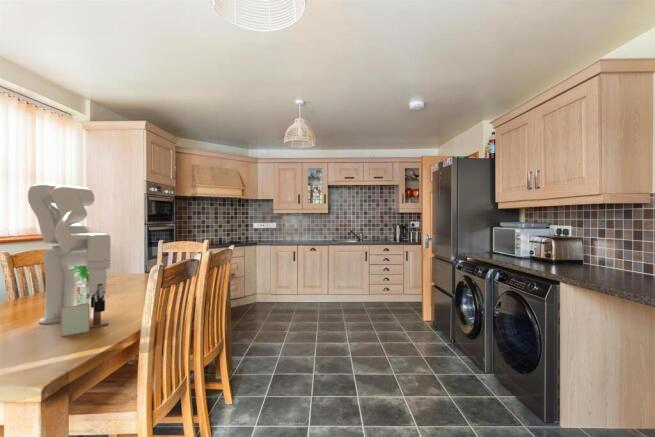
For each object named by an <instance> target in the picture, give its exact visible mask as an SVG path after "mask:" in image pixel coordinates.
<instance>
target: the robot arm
mask: <svg viewBox="0 0 655 437" xmlns="http://www.w3.org/2000/svg"><path fill="white" fill-rule="evenodd" d="M27 199H28V204H29V206H30V208H31V210H32V211H33V213H34V216H36V219H37V223H38V226H39V229H40V234H41V237H42V240H43V242H44V243H45V244H47V245H50V247H48V248H46V249H45V250H44V252H43V256H42V259H43V263H44V269H45V292H44V294H45V295H44V300H45V301H44V317H41V318H39V323H40V324H42V325H51V324H52V325H53V324H61V308H63V307H70V306H75V293H76V292H75V289H76V288H75V287H76V286H75V285H76V284H75V283H76V282H75V281H76V278H75V274H74V273H73V272H72V271H71V270H70V268H72V267H73V268H74V267H81V266H86V268H85V269H86V271H88V283H87V285H88V286H87V294H88V295H89V296H90V308H93V306H94V312H101V313H102V312H105V310H106V300H105V298H106V297H105V295H106V293H107V284H108V282H107V281H108V277H107V274H108V273H107V272H108V271H107V270H109V269H111V243H112V242H111V240H112V238H111V235H110V234H108V233H98V232H89V230H88V228H87V227H86V226H85V225H83V224H82V223H80V222H83V221H84V219H86V218H87V216H88V212H87V210H86V208H85V207H90V206H92V205H93V204H94V202H95V193H94V192H93V190H92V189H90V188H88V187H83V186H75V185H65V184H64V185H63V184H57V183H55V184H54V183H35V184H33V185H31V186H30V187H29V189H28V191H27ZM53 204H55V206H54V205H53ZM94 295H95V302H94Z"/></svg>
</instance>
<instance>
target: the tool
mask: <svg viewBox="0 0 655 437" xmlns="http://www.w3.org/2000/svg"><path fill="white" fill-rule="evenodd" d="M94 302H95V295H94ZM92 311H93V313H92V314H93V315H92V323H89V330H90V329H93V328H100V327H106V326H109V321H107V320H105V321H102V320H101V319H102V318H101V317H102V312H94V306H93V310H92Z"/></svg>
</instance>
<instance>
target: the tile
mask: <svg viewBox="0 0 655 437" xmlns="http://www.w3.org/2000/svg"><path fill="white" fill-rule="evenodd" d="M89 324H90V303H87V304H79V305H74V306H70V307H63V308H61V323H60V337H67V336H73V335H79V334H85V333H90V329H89Z"/></svg>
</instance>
